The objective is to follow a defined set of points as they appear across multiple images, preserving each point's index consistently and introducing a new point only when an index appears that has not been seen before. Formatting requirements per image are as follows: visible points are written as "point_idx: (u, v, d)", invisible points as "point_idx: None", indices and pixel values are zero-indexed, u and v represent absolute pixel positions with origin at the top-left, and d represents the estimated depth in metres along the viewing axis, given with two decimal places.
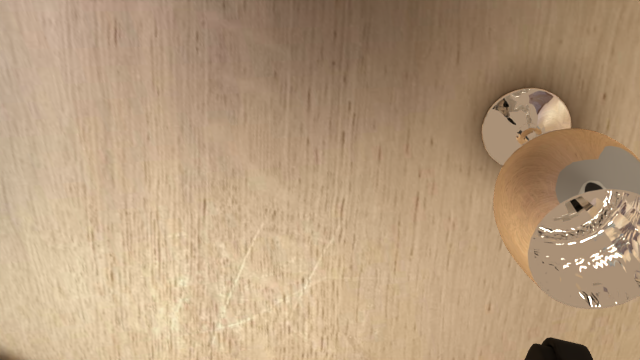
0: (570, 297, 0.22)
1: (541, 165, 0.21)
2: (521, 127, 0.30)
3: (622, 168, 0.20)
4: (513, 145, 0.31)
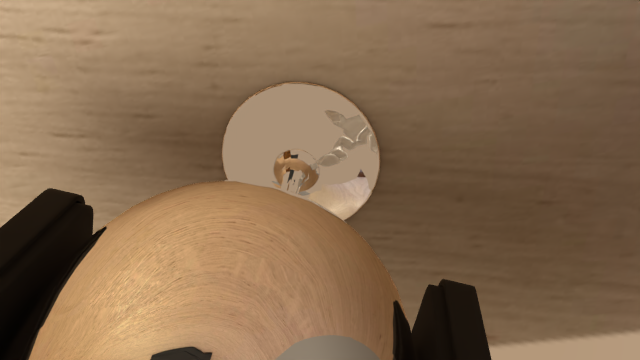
0: None
1: (368, 355, 0.07)
2: (310, 157, 0.16)
3: None
4: (271, 144, 0.16)
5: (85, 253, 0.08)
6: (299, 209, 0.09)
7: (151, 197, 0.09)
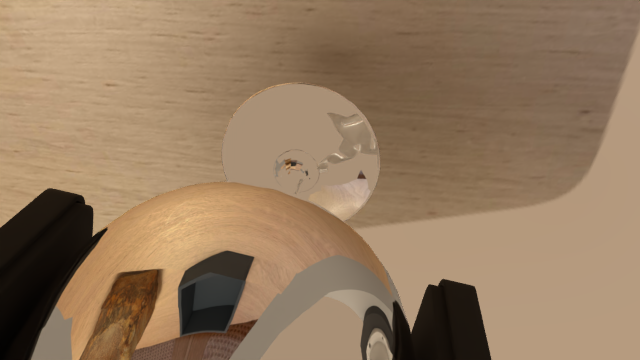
0: None
1: (368, 357, 0.07)
2: (310, 158, 0.16)
3: None
4: (271, 145, 0.16)
5: (86, 254, 0.08)
6: (299, 210, 0.09)
7: (152, 198, 0.09)
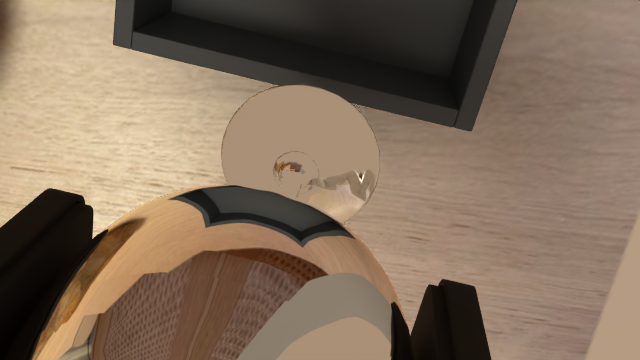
0: None
1: None
2: (310, 160, 0.16)
3: None
4: (270, 146, 0.16)
5: (85, 257, 0.08)
6: (298, 213, 0.09)
7: (151, 201, 0.09)
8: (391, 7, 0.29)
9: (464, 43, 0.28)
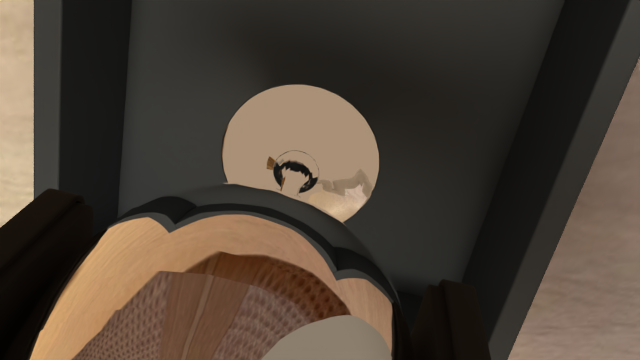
0: None
1: None
2: (310, 159, 0.16)
3: None
4: (270, 146, 0.16)
5: (84, 256, 0.08)
6: (298, 212, 0.09)
7: None
8: (382, 227, 0.24)
9: (472, 278, 0.23)
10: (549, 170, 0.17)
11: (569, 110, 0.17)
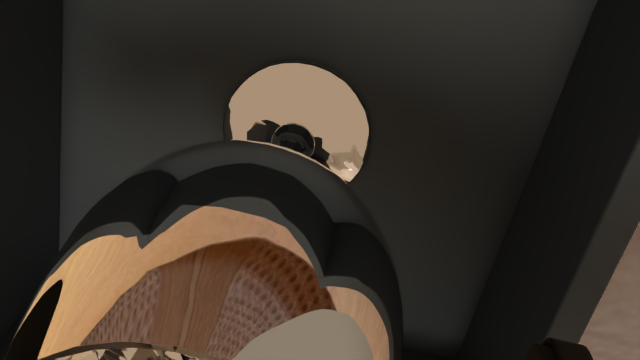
0: None
1: (359, 281, 0.08)
2: (306, 131, 0.17)
3: None
4: (269, 119, 0.17)
5: (109, 198, 0.09)
6: (298, 162, 0.10)
7: None
8: None
9: (478, 337, 0.19)
10: (580, 226, 0.14)
11: (608, 152, 0.13)
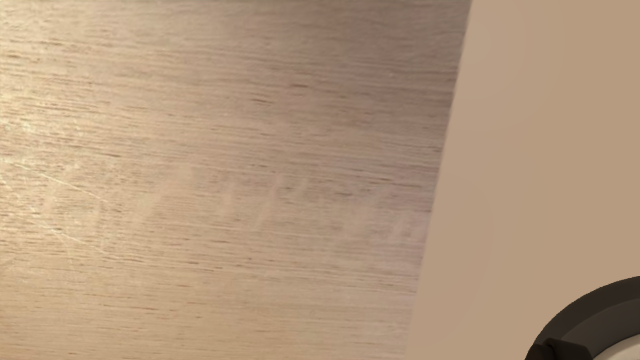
0: None
1: None
2: None
3: None
4: None
5: None
6: None
7: None
8: None
9: None
10: None
11: None
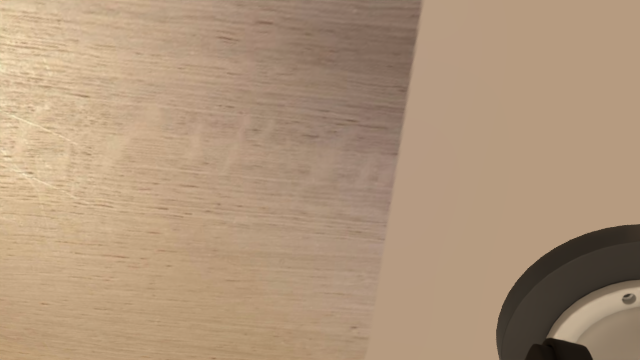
0: None
1: None
2: None
3: None
4: None
5: None
6: None
7: None
8: None
9: None
10: None
11: None
